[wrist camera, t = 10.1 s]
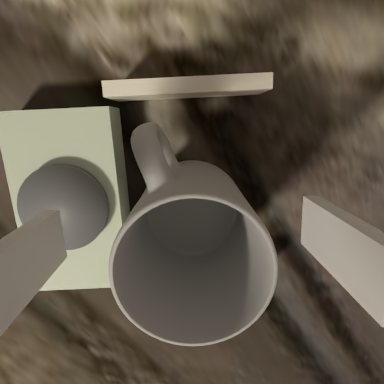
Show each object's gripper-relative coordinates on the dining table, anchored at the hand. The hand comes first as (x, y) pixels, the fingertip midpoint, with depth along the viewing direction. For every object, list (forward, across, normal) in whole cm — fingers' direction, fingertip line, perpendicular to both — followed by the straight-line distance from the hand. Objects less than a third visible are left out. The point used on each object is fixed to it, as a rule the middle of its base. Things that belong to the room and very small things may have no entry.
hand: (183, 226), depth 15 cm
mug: (+9, 0, 0) cm, 9 cm away
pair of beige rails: (+9, -3, 0) cm, 10 cm away
